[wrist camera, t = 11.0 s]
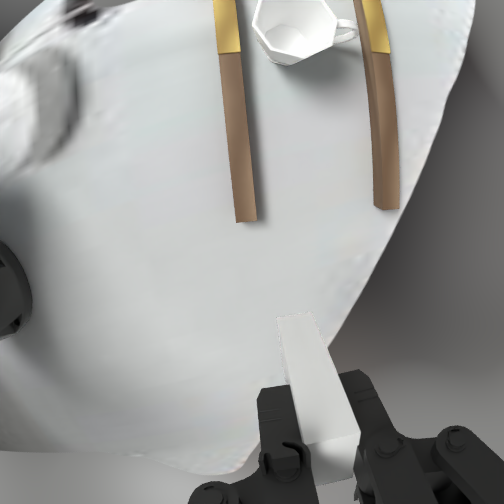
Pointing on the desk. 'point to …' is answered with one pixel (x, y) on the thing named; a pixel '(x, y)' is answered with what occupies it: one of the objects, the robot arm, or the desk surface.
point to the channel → (378, 98)
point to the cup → (298, 29)
